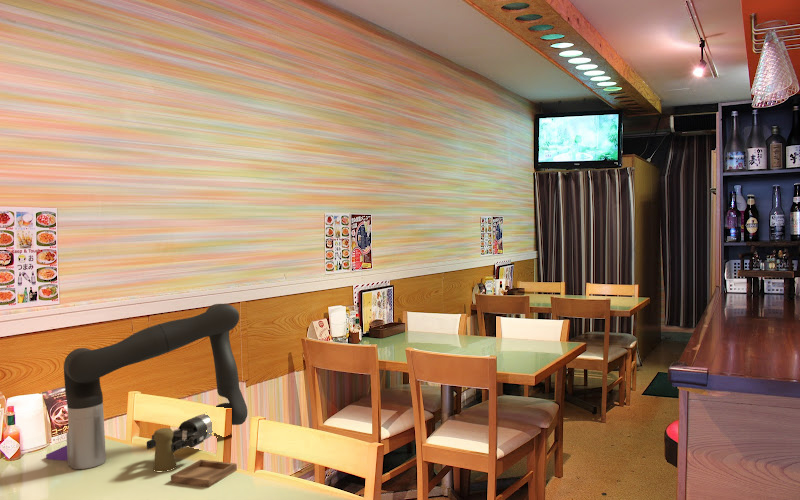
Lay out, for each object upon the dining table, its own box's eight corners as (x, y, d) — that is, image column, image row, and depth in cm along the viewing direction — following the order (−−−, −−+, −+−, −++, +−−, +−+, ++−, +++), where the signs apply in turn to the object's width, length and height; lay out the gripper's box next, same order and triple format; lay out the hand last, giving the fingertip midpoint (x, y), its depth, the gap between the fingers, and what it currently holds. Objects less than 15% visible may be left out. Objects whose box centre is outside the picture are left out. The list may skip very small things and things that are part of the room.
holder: (171, 482, 164) (170, 475, 164) (200, 465, 176) (200, 459, 175) (208, 487, 160) (208, 480, 160) (236, 470, 171) (236, 463, 171)
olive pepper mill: (168, 472, 171) (166, 432, 171) (149, 471, 173) (147, 432, 172) (180, 464, 177) (178, 426, 177) (161, 463, 178) (159, 425, 178)
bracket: (96, 454, 190) (95, 432, 190) (78, 462, 183) (77, 439, 183) (64, 452, 193) (63, 429, 193) (46, 459, 187) (45, 437, 187)
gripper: (178, 415, 191) (138, 431, 176) (217, 418, 186) (179, 435, 171) (179, 439, 191) (140, 458, 176) (218, 443, 186) (181, 462, 171)
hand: (159, 446), depth 173 cm, fingers open, 8 cm apart
